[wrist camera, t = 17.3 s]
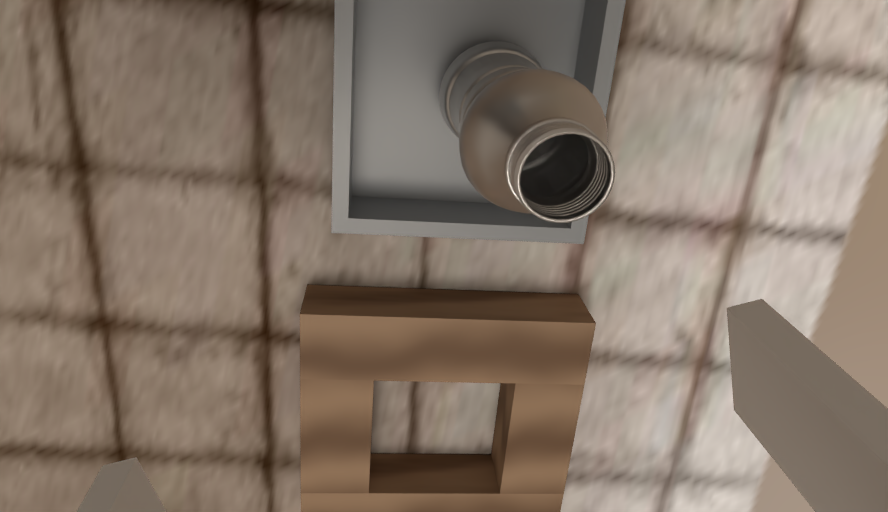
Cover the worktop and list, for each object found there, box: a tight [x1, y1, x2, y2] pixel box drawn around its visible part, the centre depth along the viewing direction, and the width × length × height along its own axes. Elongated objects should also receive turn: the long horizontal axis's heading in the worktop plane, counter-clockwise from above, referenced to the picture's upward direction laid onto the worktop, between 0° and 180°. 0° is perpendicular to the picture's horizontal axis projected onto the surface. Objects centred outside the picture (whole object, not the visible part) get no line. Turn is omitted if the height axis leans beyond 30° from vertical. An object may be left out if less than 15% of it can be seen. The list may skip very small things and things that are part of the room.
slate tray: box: [331, 0, 626, 244], centre depth 41 cm, size 16×16×5 cm
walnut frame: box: [300, 285, 596, 512], centre depth 50 cm, size 20×20×4 cm
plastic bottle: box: [439, 41, 615, 223], centre depth 33 cm, size 6×7×20 cm
